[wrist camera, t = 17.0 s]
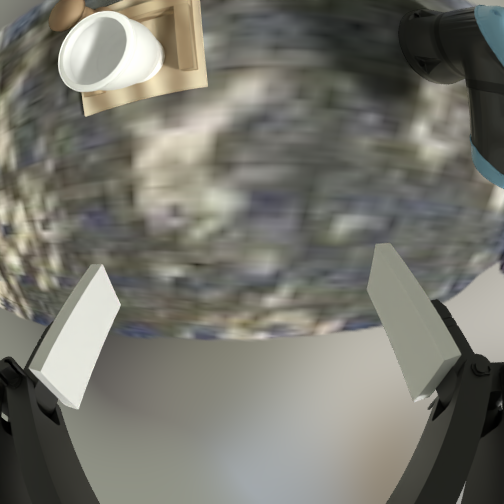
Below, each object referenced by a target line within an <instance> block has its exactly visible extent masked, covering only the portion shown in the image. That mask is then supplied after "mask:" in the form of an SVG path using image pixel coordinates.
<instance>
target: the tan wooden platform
mask: <svg viewBox="0 0 504 504" xmlns="http://www.w3.org/2000/svg"><path fill="white" fill-rule="evenodd" d="M102 11H114V12H118V13H121V14H123V15H125V16H126V17H127V18H129V19H132V20H135V21H137V22H139V23H141V24H143V25H144V26H145V27H147V28H148V29H149V30H150V31H151V33H152V34H153V35H154V37H155V38H156V40H158V41H159V42H160V43H161V44H162V46H163V48H164V53H165V58H164V62H163V65H162V67H161V69H160V70H159V71H158V73H157V74H156V75H155V76H153V77H152V78H151V79H149V80H147V81H145V82H142V83H136V84H134V85H131V86H128V87H125V88H122V89H117V90H108V91H105V90H97V91H92V92H81V93H82V100H83V107H84V113H85V117H86V116H89V115H92V114H95V113H98V112H101V111H104V110H107V109H110V108H114V107H117V106H120V105H124V104H127V103H131V102H135V101H138V100H142V99H146V98H150V97H155V96H159V95H164V94H168V93H173V92H178V91H184V90H189V89H195V88H201V87H208V82H207V73H206V63H205V53H204V43H203V33H202V22H201V10H200V0H123V1H120V2H117V3H115V4H112V5H109V6H107V7H100V8H97V9H95V10H94V9H91V8H88V7H85V0H60V1H59V2H58V3H57V4H56V5H55V6H54V8H53V10H52V11H51V13H50V16H49V27H50V28H51V29H52V30H53V31H59V32H62V31H66V30H68V29H70V28H71V27H73V26H74V27H75V26H76V25H77V24H78V23H79V22H80V21H81V20H83V19H84V18H86V17H88V16H90V15H92V14H94V13H97V12H102Z"/></svg>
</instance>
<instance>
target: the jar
mask: <svg viewBox="0 0 504 504" xmlns="http://www.w3.org/2000/svg"><path fill="white" fill-rule="evenodd" d="M164 58H165V53H164V48H163V46H162V44H161V43H160V42H159V41H158V40H156V38H155V37H154V35H153V34H152V33H151V31H150V30H149V29H148V28H147V27H145V26H144V25H143V24H141V23H139V22H137V21H135V20H132V19H129V18H127V17H126V16H125V15H123V14H121V13H118V12H114V11H102V12H97V13H94V14H92V15H90V16H88V17H86V18H84V19H83V20H81V21H80V22H79V23H78V24H77V25H76V26H75V27H74V28H73V29H72V30H71V31H70V32H69V34H68V35H67V37H66V38H65V40H64V42H63V44H62V46H61V49H60V53H59V58H58V68H59V73H60V76H61V78H62V80H63V82H64V83H65V84H66V85H67V86H68V87H69V88H71V89H73V90H75V91H79V92H92V91H97V90H105V91H108V90H117V89H122V88H125V87H128V86H131V85H134V84H136V83H142V82H145V81H147V80H149V79H151V78H152V77H153V76H155V75H156V74H157V73H158V71H159V70H160V69H161V67H162V65H163V62H164Z"/></svg>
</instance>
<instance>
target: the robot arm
mask: <svg viewBox="0 0 504 504" xmlns="http://www.w3.org/2000/svg"><path fill="white" fill-rule="evenodd" d="M399 41H400V45H401V48H402V51H403V53H404V55H405V57H406V59H407V60H408V62H409V63H410V65H411V66H412V67H413V69H414V70H415V71H416V72H417V73H418V74H419V75H421V76H422V77H423V78H425V79H426V80H428V81H430V82H433V83H437V84H453V83H456V82H458V81H460V80H463V79H466V86H467V94H468V103H469V113H470V128H471V134H470V142H471V149H472V160H473V163H474V165H475V167H476V169H477V170H478V171H479V172H480V173H481V174H482V175H483V176H484V177H485V178H486V179H488V180H489V181H490V182H492V183H493V184H495V185H497V186H499V187H501V188H503V189H504V8H503V7H500V6H485V5H478V6H476V7H471V8H465V9H460V10H455V11H450V12H445V13H443V12H439V11H434V10H428V9H419V10H415V11H412V12H410V13H408V14H406V15H405V16H404V17H403V19H402V20H401V22H400V26H399ZM367 292H368V294H369V296H370V298H371V300H372V302H373V304H374V307H375V309H376V311H377V313H378V315H379V318H380V320H381V322H382V324H383V327H384V329H385V331H386V333H387V336H388V338H389V340H390V343H391V345H392V348H393V350H394V353H395V355H396V357H397V360H398V362H399V365H400V367H401V370H402V373H403V376H404V378H405V381H406V383H407V386H408V388H409V392H410V395H411V397H412V400H413V402H416V401H419V400H422V399H425V398H428V397H430V395H431V394H432V393H433V392H434V391H435V389H436V391H437V393H438V396H437V397H436V399H435V400H434V401H433V402H432V403H431V404H430V406H429V407H428V410H430V409H431V408H432V407H433V408H432V411H431V414H430V416H429V419H428V422H427V424H426V427H425V429H424V432H423V434H422V436H421V439H420V441H419V443H418V445H417V448H416V450H415V452H414V454H413V456H412V458H411V460H410V462H409V464H408V466H407V468H406V470H405V472H404V474H403V476H402V477H401V480H400V481H399V483H398V485H397V486H396V488H395V490H394V491H393V493H392V495H391V496H390V498H389V500H388V501H387V503H386V504H456V502H457V500H458V498H459V496H460V493H461V491H462V489H463V487H464V484H465V482H466V484H465V489H464V493H463V497H462V501H461V504H504V362H498V363H490V361H489V360H488V359H487V358H486V357H484V356H483V355H479V354H475V353H474V352H473V350H472V349H471V347H470V345H469V343H468V342H467V340H466V338H465V336H464V335H463V333H462V331H461V330H460V328H459V326H457V323H456V321H455V320H454V318H452V315H451V313H450V312H449V310H448V309H447V307H446V306H445V305H443V304H442V303H441V302H440V301H439V300H437V299H436V300H431V301H430V300H429V298H428V296H427V295H426V293H425V292H424V290H423V289H422V287H421V286H420V284H419V283H418V281H417V280H416V278H415V277H414V276H413V274H412V273H411V271H410V270H409V268H408V267H407V266H406V264H405V263H404V261H403V260H402V259H401V257H400V256H399V255H398V253H397V252H396V250H395V249H394V248H393V246H392V245H391V244H390V243H383V244H376V245H375V251H374V257H373V262H372V267H371V272H370V277H369V282H368V287H367ZM120 306H121V304H120V302H119V300H118V298H117V296H116V294H115V291H114V289H113V287H112V285H111V283H110V280H109V278H108V276H107V273H106V271H105V269H104V266H103V264H94V265H90V267H89V268H88V270H87V271H86V273H85V274H84V275H83V277H82V278H81V280H80V281H79V283H78V284H77V286H76V287H75V289H74V290H73V292H72V293H71V295H70V296H69V298H68V299H67V301H66V302H65V304H64V306H63V307H62V309H61V310H60V312H59V314H58V315H57V317H56V319H55V320H54V321H53V322H52V323H51V324H50V325H49V326H48V327H47V328H46V329H45V331H44V332H43V334H42V336H41V339H40V340H39V341H38V343H37V346H36V347H35V349H34V351H33V352H32V354H31V356H30V358H29V360H28V362H27V364H26V366H25V368H24V370H23V369H22V368H21V367H20V366H19V365H18V364H17V363H16V362H15V360H14V359H13V358H12V357H5V358H3V359H2V360H1V361H0V504H100V503H99V501H98V499H97V498H96V496H95V494H94V492H93V490H92V488H91V486H90V484H89V482H88V480H87V478H86V476H85V473H84V471H83V469H82V467H81V464H80V462H79V460H78V457H77V455H76V452H75V450H74V448H73V445H72V442H71V439H70V437H69V434H68V431H67V428H66V425H65V422H64V419H63V416H62V412H61V409H60V407H59V405H58V404H57V401H58V399H59V400H60V401H61V402H62V403H63V404H64V405H66V406H68V407H72V408H75V409H79V406H80V403H81V400H82V398H83V395H84V392H85V389H86V386H87V384H88V381H89V378H90V376H91V373H92V371H93V368H94V365H95V363H96V360H97V358H98V356H99V353H100V351H101V348H102V346H103V343H104V341H105V339H106V337H107V334H108V332H109V330H110V327H111V325H112V323H113V321H114V319H115V316H116V314H117V312H118V310H119V308H120ZM501 404H502V408H503V409H502V408H501ZM2 412H3V413H4V414H5V415H7V416H8V422H7V421H5V420H4V419H3V418H2V417H1V414H2Z"/></svg>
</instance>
